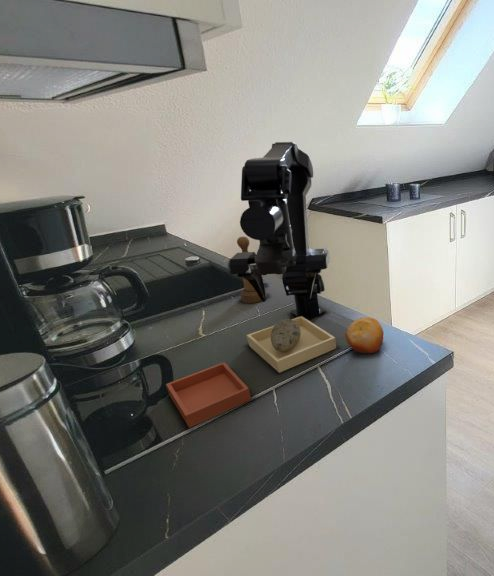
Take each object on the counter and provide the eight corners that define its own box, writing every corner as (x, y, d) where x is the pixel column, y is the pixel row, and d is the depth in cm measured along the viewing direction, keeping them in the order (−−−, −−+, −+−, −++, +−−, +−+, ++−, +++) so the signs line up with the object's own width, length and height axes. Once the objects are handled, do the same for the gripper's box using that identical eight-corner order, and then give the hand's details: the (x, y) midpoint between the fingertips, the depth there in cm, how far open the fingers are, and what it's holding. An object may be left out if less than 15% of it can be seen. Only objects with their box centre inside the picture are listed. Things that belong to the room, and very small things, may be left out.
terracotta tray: (169, 395, 74) (165, 383, 73) (227, 372, 81) (224, 361, 80) (189, 428, 66) (185, 415, 65) (251, 399, 73) (248, 388, 72)
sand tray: (248, 345, 90) (246, 335, 89) (303, 325, 99) (301, 315, 98) (279, 372, 80) (277, 361, 79) (336, 348, 89) (335, 337, 88)
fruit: (392, 332, 92) (384, 313, 86) (382, 364, 87) (373, 346, 81) (360, 328, 94) (349, 309, 88) (348, 359, 90) (336, 341, 83)
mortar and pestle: (251, 305, 111) (238, 241, 104) (236, 300, 114) (223, 238, 107) (271, 296, 116) (260, 235, 109) (257, 292, 119) (245, 232, 112)
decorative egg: (271, 330, 91) (259, 353, 82) (283, 309, 90) (272, 330, 81) (296, 341, 93) (287, 365, 84) (307, 321, 92) (300, 342, 82)
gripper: (208, 239, 70) (227, 319, 76) (317, 234, 72) (327, 313, 78) (230, 225, 81) (245, 296, 86) (325, 221, 82) (334, 291, 88)
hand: (287, 299), depth 85 cm, fingers open, 9 cm apart
